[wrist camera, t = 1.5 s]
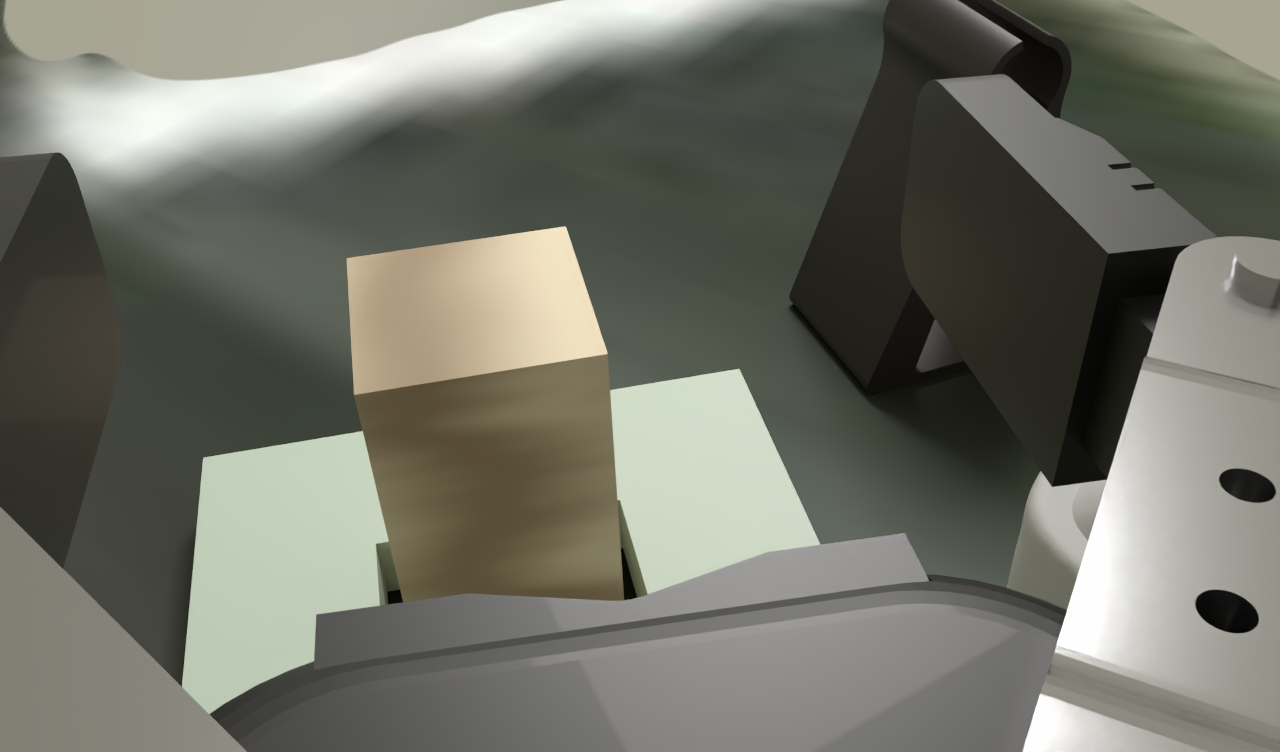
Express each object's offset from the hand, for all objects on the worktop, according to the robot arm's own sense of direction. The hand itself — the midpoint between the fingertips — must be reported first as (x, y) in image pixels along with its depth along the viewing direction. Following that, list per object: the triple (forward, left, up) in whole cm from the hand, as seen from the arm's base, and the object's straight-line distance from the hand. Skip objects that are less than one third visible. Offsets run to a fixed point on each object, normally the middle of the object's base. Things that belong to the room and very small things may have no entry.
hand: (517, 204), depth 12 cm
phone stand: (-17, -23, -21) cm, 36 cm away
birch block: (0, -11, -21) cm, 24 cm away
